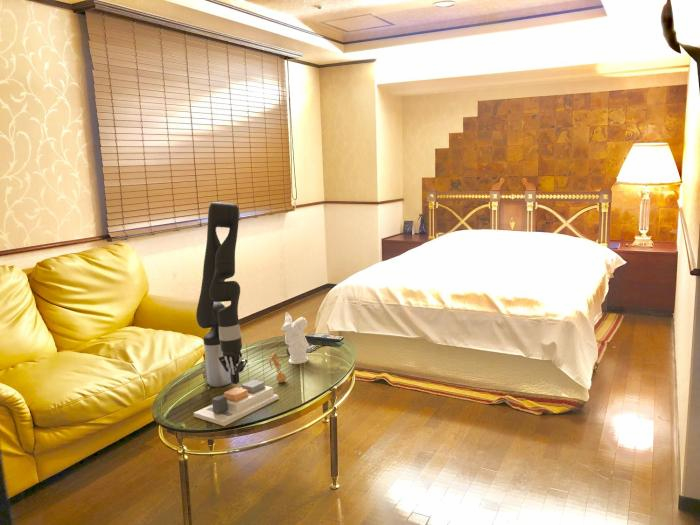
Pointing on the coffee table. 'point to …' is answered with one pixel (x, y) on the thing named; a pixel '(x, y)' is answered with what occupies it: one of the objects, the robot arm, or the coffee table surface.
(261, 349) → the coffee table surface
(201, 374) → the coffee table surface
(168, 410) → the coffee table surface
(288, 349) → the walkie-talkie
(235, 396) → the orange button
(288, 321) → the cherub figurine
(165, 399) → the coffee table surface
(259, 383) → the grey button
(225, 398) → the dark grey block
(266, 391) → the control panel
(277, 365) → the figurine
